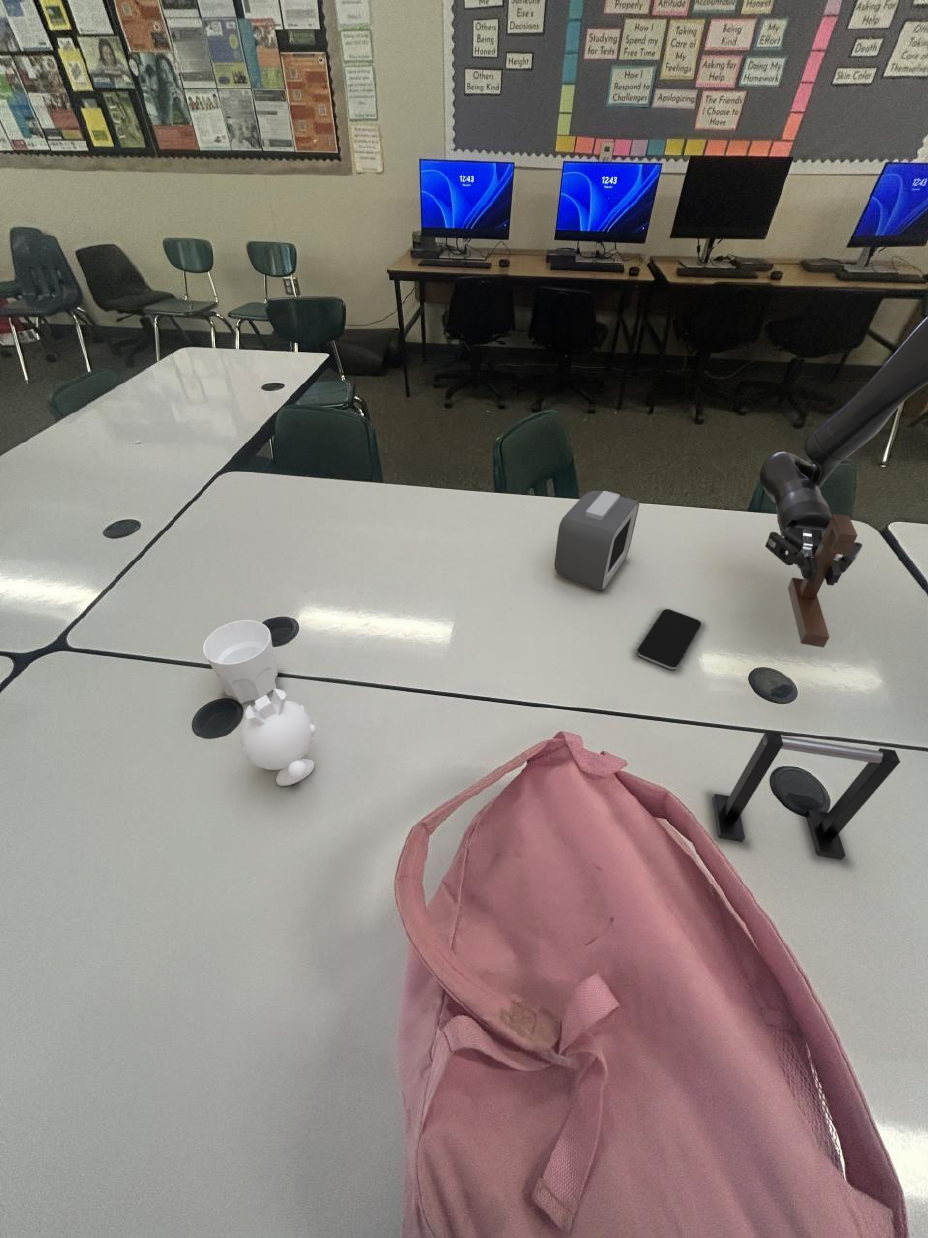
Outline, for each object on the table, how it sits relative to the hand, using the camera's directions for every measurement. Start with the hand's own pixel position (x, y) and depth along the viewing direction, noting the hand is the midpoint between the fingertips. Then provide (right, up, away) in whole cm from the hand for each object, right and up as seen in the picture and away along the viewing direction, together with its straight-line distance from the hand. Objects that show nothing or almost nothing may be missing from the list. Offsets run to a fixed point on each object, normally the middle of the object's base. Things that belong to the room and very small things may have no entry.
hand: (823, 578), depth 81 cm
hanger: (0, -5, +5) cm, 7 cm away
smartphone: (-14, -10, +22) cm, 28 cm away
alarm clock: (-25, +5, +39) cm, 46 cm away
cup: (-87, -17, +13) cm, 89 cm away
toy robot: (-77, -27, +1) cm, 82 cm away
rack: (-10, -33, -6) cm, 36 cm away
